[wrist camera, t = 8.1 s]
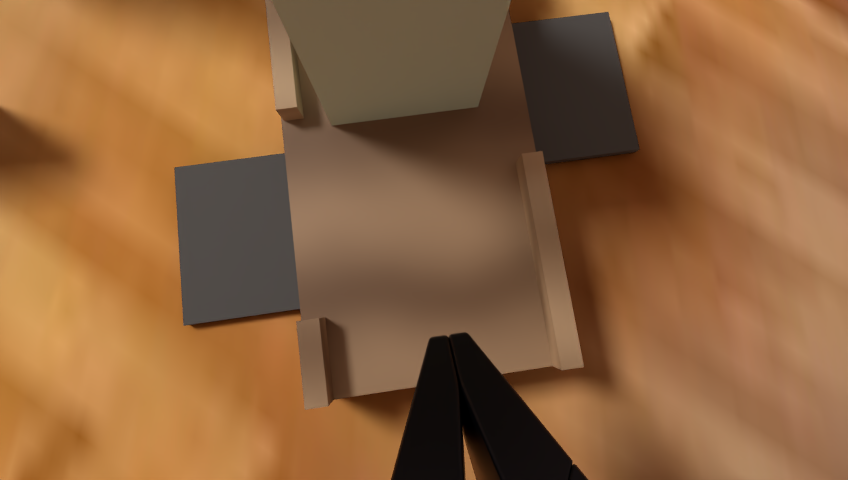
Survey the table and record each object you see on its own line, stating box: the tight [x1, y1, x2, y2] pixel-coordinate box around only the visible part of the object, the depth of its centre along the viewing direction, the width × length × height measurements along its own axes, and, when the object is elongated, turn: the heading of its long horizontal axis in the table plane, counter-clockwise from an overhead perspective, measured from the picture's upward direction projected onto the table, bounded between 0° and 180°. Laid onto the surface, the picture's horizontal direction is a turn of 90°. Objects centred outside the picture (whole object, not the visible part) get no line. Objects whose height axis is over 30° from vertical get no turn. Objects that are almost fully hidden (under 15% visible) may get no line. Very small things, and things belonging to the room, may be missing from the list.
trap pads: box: [175, 12, 639, 325], centre depth 19 cm, size 12×21×1 cm, turn 98°
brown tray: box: [265, 0, 584, 410], centre depth 17 cm, size 19×10×4 cm, turn 8°
